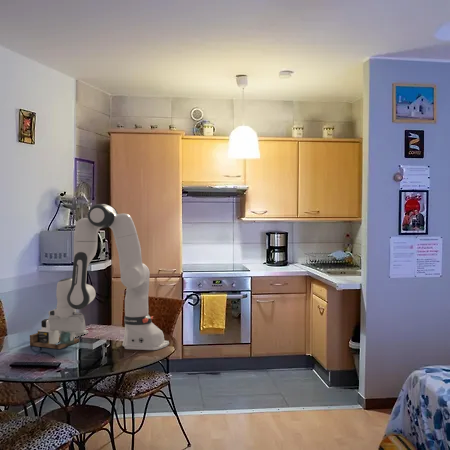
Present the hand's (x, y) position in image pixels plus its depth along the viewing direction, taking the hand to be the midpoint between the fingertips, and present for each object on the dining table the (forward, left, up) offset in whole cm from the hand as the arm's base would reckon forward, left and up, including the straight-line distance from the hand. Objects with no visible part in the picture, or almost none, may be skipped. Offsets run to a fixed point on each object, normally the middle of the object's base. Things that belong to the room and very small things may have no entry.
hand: (67, 340), depth 229 cm
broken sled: (+15, -16, -2) cm, 22 cm away
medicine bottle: (+11, 0, -3) cm, 12 cm away
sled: (+8, 0, -2) cm, 8 cm away
